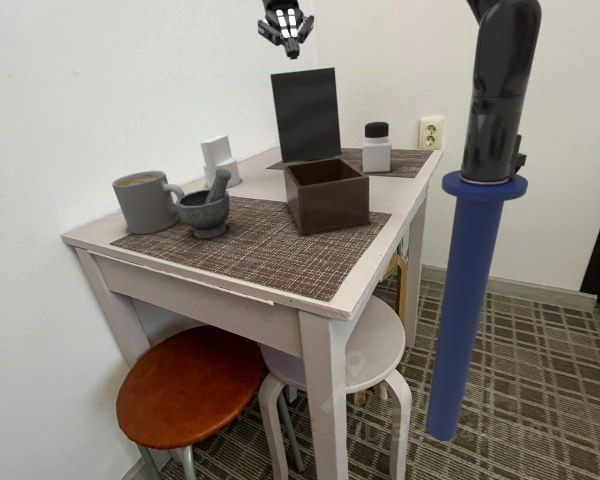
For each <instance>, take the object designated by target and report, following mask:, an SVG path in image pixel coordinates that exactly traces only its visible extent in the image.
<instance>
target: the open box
mask: <svg viewBox="0 0 600 480" xmlns="http://www.w3.org/2000/svg"><path fill="white" fill-rule="evenodd" d="M282 170H283V179H284V186H285V187H284V188H285V194H286V203H287V207H288V209H289V211H290V213H291V215H292V216H293V219H294V221H295V223H296V225H297V227H298V230H299V231H300V234H301V235H302V236H305V235H311V234H318V233H322V232H328V231H329V232H330V231H334V230H339V229H345V228H351V227H357V226H361V225H362V226H363V225H369V224H370V176H369V175H368V174H366V173H364V172H363V170H360V169H359V168H357V167H356V166H355V165H353V164H352V163H350V162H349V161H348V160H346V159H344V158H343V157H342V156H338V157H333V158H330V159H324V160H312V161H311V160H309V161H305V162H297V163H291V164H290V163H289V164H285V165H282Z"/></svg>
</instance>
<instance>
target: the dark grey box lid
mask: <svg viewBox="0 0 600 480" xmlns="http://www.w3.org/2000/svg"><path fill="white" fill-rule="evenodd" d="M269 76H270V83H271V85H270V86H271V91H272V99H273V105H274V111H275V112H274V114H275V120H276V121H275V122H276V127H277V128H276V129H277V135H278V142H279V143H278V144H279V149H280V156H281V163H282V164H290V163H296V162H301V161H311V160H315V159H316V158H323V157H330V156H334V157H337V156H342V144H341V141H342V140H341V131H340V119H339V118H340V117H339V116H340V115H339V105H338V92H337V81H336V79H337V78H336V68H335V67H333V66H332V67H324V68H316V69H306V70H297V71H287V72H278V73H271V74H270V75H269Z"/></svg>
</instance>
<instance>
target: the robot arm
mask: <svg viewBox="0 0 600 480" xmlns="http://www.w3.org/2000/svg"><path fill="white" fill-rule="evenodd" d="M261 2H262V5H263V9H264V12H265V13H264V14H265V15H264V20H263V19H258V20H257V34H259V35H260V36H261V37H262V38H264V39H265V40H267V41H268V42H270V43H271V44H272V45H274V46H276V47H279V46H283V48H284V51H285V52H284V53H285V54H286V57H287V58H289V60H291V61H292V60H293V61H294V60H298V57H300V54H301V48H300V45H303V44H304V43H305V41H306V40H307V39H308V37H309V36H310V35H311V32H312V31H313V29H314V26H315V16H314V15H312V14H310V15H309V16H306V15H305V14H304V11H302V9H301V8H300V4H299V1H298V0H261ZM465 2H466V3H467V5H468V7H469V9H470V11H471V12H472V13H471V14H473V16H474V18H475V19H474V20H475V21H476V23H477V25H478V31H477V37H476V45H475V51H474V52H475V53H474V59H473V60H474V62H473V70H472V77H471V78H472V83H471V84H472V85H471V96H470V102H469V103H470V105H469V110H468V117H467V125H466V131H465V139H464V147H463V155H462V161H461V164H460V170H461V174H460V181H462V182H464V183H466V184H469V185H474V186H484V187H490V186H500V185H504V184H506V183H507V182H512V180H513V176H515V174H518V172H519V171H520V170H521V169H522V167H525V165H526V161H527V157H528V155H527V154H524V153H521V152H519V151H520V147H521V142H522V134H519V129H520V125H521V120H522V119H521V118H522V115H523V108H524V105H525V99H526V95H527V91H528V87H529V81H530V78H531V73H532V68H533V63H534V59H535V53H536V48H537V44H538V39H539V36H540V35H539V34H540V30H541V25H542V18H543V10H542V5H541V3H540V1H539V0H465ZM301 25H302V26H301ZM300 27H301V28H300ZM298 30H299V31H298Z"/></svg>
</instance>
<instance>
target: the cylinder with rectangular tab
mask: <svg viewBox="0 0 600 480" xmlns="http://www.w3.org/2000/svg"><path fill="white" fill-rule="evenodd" d="M200 147H201V148H200V149H201V152H202V156H203V160H204V162H202V168H203V173H204V176H205V181H206V185H207V188H208V189H211V187H212V185H213V182H214V180H215V177H216V170H217V169H225V170H227V171H229V172H230V173H231V179H230V180H228V184H227V188H229V187H230V188H231V187H234V186H236V185H238V184H240V182H241V178H240V171H239V167H238V163H237V158H235V157H233V154H232V149H231V145H230V139H229V135H228V134H227V135H226V134H222V135H216V136H214V137H212V138H209V139H206V140H204V141H201V142H200Z"/></svg>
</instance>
